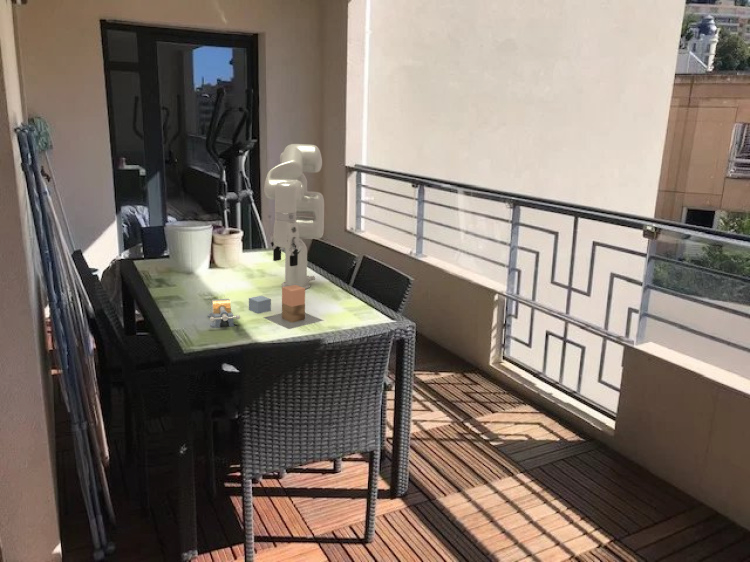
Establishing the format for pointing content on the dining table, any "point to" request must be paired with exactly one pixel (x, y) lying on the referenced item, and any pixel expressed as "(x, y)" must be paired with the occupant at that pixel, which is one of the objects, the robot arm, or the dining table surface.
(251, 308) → the slate brick
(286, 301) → the salmon orange cube
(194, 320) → the dining table surface
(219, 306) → the vise
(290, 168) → the robot arm
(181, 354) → the dining table surface
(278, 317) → the plate
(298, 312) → the brown wooden cube
